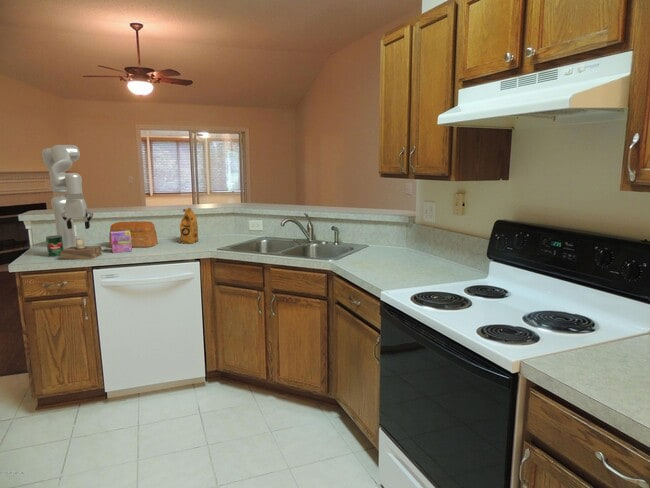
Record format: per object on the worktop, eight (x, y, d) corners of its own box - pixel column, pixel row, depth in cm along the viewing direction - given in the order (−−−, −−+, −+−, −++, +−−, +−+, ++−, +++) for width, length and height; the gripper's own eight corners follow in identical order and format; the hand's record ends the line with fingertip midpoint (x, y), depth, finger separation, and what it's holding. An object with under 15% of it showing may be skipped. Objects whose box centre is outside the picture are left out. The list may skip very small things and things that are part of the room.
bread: (151, 247, 275) (149, 223, 273) (107, 248, 275) (105, 223, 272) (159, 243, 289) (157, 220, 286) (117, 244, 289) (115, 220, 286)
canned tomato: (59, 253, 260) (57, 234, 258) (67, 255, 256) (65, 235, 254) (45, 256, 253) (42, 237, 251) (53, 257, 249) (50, 238, 247)
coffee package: (178, 243, 286) (175, 209, 282) (186, 240, 298) (183, 207, 294) (193, 244, 285) (191, 209, 281) (200, 240, 297) (198, 207, 293)
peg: (80, 256, 252) (78, 238, 250) (87, 256, 252) (85, 238, 250) (76, 258, 248) (74, 240, 246) (83, 258, 248) (81, 240, 246)
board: (73, 255, 255) (72, 246, 254) (101, 254, 256) (100, 246, 255) (61, 259, 244) (60, 250, 243) (91, 259, 244) (90, 250, 243)
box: (112, 253, 259) (110, 233, 257) (112, 251, 264) (110, 231, 262) (132, 251, 264) (130, 231, 262) (131, 249, 269) (129, 230, 267)
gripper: (54, 197, 240) (58, 230, 243) (88, 197, 240) (91, 229, 243) (62, 196, 247) (66, 227, 250) (94, 196, 247) (98, 227, 251)
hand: (78, 228), depth 247 cm, fingers open, 9 cm apart
